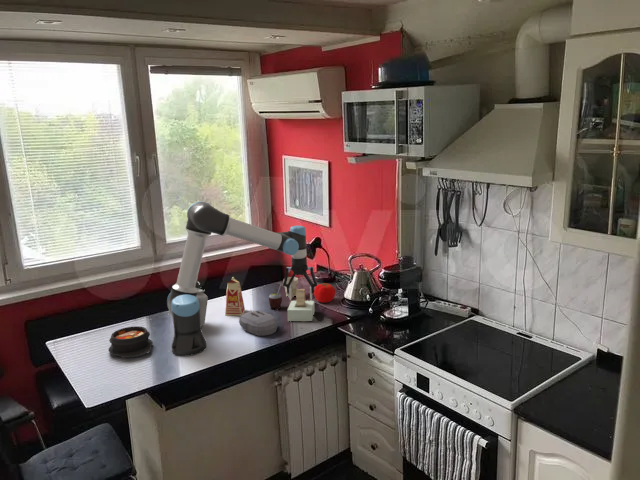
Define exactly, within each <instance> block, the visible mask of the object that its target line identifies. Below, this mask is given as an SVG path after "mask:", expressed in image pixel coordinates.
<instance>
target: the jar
mask: <svg viewBox="0 0 640 480" xmlns="http://www.w3.org/2000/svg"><path fill="white" fill-rule="evenodd" d="M197 283H198V284H200V282H199V281H197ZM196 289H197V290H198V292H197V296H196V297H197V298H198V300H199V304H200V320H201V327H202V326H203V325H204V324H205V323H206V316H207V308H208V301H209V300H208V299H209V298H208V297H209V296H207V295H208V294H207V295H206V294H205V293H204V290H203V289H201V288H197V287H196Z"/></svg>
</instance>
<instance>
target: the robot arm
mask: <svg viewBox="0 0 640 480" xmlns="http://www.w3.org/2000/svg"><path fill="white" fill-rule="evenodd" d="M186 213H187V214H186V217H187V221H186V226H185V231H187V236H186V237H187V238H186V239H185V240H186V241H185V245H184V250H183V253H182V259H181V262H180V267H179V272H178V275H177V279H176V283H175V284H173V285H172V286H171V290H170V293H169V294H168V296H167V299H166V306H167V309H168V311H169V313H170V314H171V318H172V322H173V332H174V335H173V338H172V342H171V353H172V354H173V355H175V356H180V357H181V356H183V357H186V356H193V355H194V356H195V355H197V354H201V353H202V352H204V351H205V350H207V348H208V345H207V343H208V342H207V340H206V337H205V335H204V333H203V331H202V326H201V320H200V304H199V300H198V298H197V297H196V296H197V292H198V290H197V289H198V288H197V287H196V285H197V282H198V276H199V271H200V268H201V264H202V260H203V255H204V251H205V246H206V243H207V238H208V237H210V236H211V235H212V234H216V235H220V236H224V235H227V236H230V237H234V238H236V239H241V240H242V241H245V242H250V243H254V244H256V245H259V246H262V247H265V248H268V249H270V250H271V249H272V250H276V251H278V252H281V253H284V254H285V255H288V256H291V266H290V267H289V266H286V268H285V274H284V275H285V276H284V278H283V282H284V283H283V282H282V283H283V284H282V286H283V287H284V288H285V287H287V293H289V297H288V298H289V301H292V299H293V297H292V294H291V286H290V284H291V282H292V280H293V279H294V277H296V276H304V277H305V280H306V282H307V283H308V284H309V301H313V294H314V289H315V287H316V286H317V285H318V281H317V279H316V275H315V272H314V266H308V259H307V255H308V253H307V232H306V227H305V226H303V225H292V226H290V229H289V231H288V230H287V231H280V232H274V231H272V230H268V229H266V228H262V227H259V226H256V225H254V224H250V223H247V222H244V221H241V220H238V219H235V218H232V217H231V216H230V215H229V214H227V213H225V212H222V211H220V210H219V209H217V208H215V207H214V206H212V205H211V204H210V203H209V202H206V201H195V202H193V203H192V204H191V205H190V206H189V207H188V209H187V212H186ZM291 271H292V273H293V274H292V276H290V277H291V279H290V281H289V283H288V284H286V283H287V279H288V277H289V274H290V272H291ZM307 271H309V273H310V276H311V277H310V276H309V275H308V274H309V273H307ZM196 288H197V289H196Z"/></svg>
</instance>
